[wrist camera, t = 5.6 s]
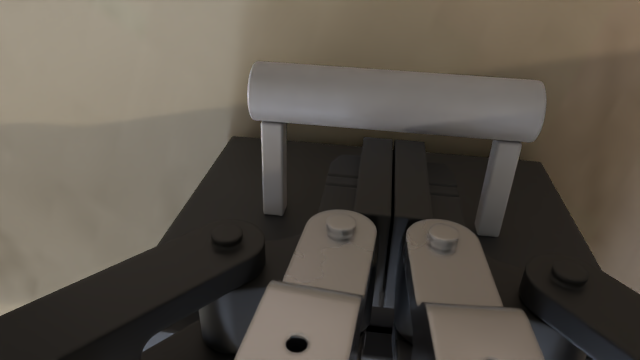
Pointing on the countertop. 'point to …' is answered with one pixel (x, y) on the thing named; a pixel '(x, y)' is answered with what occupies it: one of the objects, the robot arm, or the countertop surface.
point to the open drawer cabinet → (399, 116)
